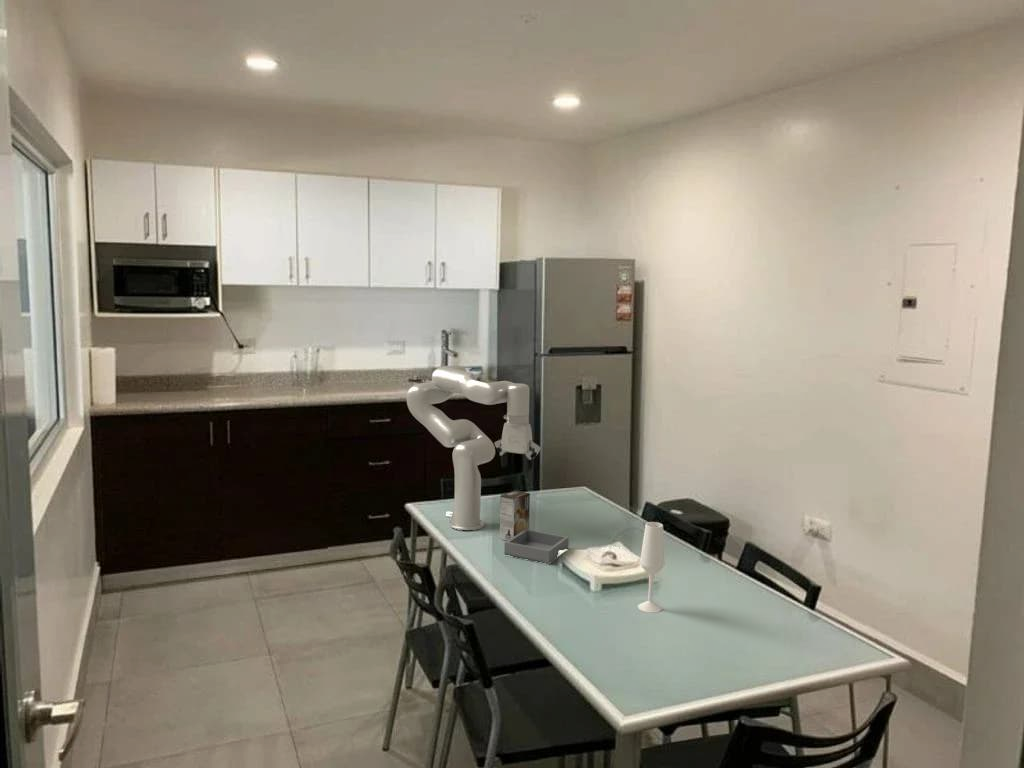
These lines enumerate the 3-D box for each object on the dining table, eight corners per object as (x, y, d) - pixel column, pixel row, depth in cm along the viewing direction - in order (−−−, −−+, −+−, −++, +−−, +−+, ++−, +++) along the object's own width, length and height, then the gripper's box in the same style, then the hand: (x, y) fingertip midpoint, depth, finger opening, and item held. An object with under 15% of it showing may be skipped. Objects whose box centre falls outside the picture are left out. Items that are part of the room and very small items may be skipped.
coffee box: (514, 533, 276) (516, 489, 274) (529, 537, 273) (530, 492, 270) (499, 539, 269) (500, 494, 267) (513, 543, 265) (514, 498, 263)
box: (504, 555, 254) (504, 542, 253) (525, 541, 268) (526, 529, 267) (548, 564, 246) (549, 551, 246) (568, 549, 261) (568, 537, 260)
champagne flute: (644, 613, 212) (648, 529, 209) (633, 603, 218) (637, 521, 215) (666, 611, 214) (671, 527, 211) (655, 601, 220) (659, 520, 217)
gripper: (490, 418, 266) (489, 467, 268) (535, 423, 258) (534, 473, 260) (500, 415, 272) (499, 463, 275) (545, 420, 265) (543, 469, 267)
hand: (516, 468), depth 267 cm, fingers open, 9 cm apart
